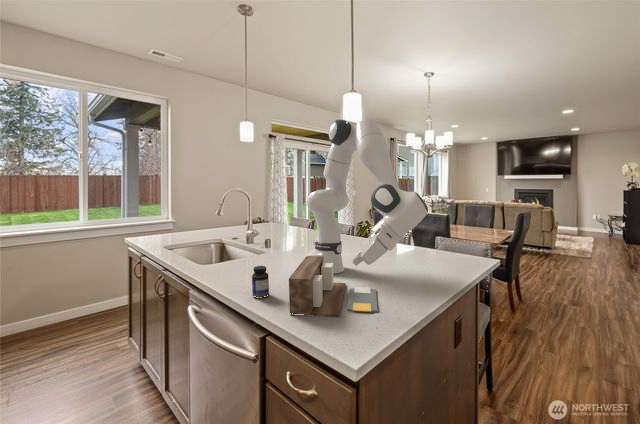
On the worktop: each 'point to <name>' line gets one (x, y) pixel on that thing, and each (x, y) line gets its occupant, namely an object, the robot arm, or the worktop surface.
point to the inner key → (327, 276)
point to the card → (362, 300)
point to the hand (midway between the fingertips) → (354, 263)
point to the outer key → (317, 291)
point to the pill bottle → (260, 282)
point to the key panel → (304, 291)
